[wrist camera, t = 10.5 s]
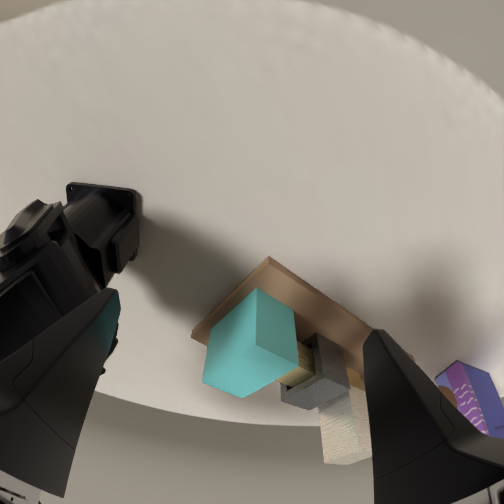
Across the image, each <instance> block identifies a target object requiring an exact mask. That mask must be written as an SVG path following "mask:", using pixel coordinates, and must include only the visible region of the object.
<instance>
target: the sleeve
mask: <svg viewBox="0 0 504 504" xmlns="http://www.w3.org/2000/svg"><path fill="white" fill-rule="evenodd" d="M301 344H303V345H305V346H307V347H309V348H311V349H313V355H314V362H315V369H316V375H314V376H313V377H311V378H309V379H308V380H306V381H304V382H302V383H301V384H299V385H297V386H295V387H290V386H288V385H285V384H283V383H281V401H282V402H285V403H288V404H291V405H294V406H297V407H300V408H304V409H307V410H311V409H313V408H315V407H317V406H319V405H321V404H323V403H325V402H327V401H329V400H331V399H333V398H335V397H337V396H339V395H340V394H342V393H344V392H346V391H348V390H350V389H351V388H350V383H349V379H348V374H347V369H346V365H345V360H344V356H343V351H342V347H341V346H340V345H338V344H336V343H335V342H333V341H331V340H329V339H328V338H326V337H324V336H322V335H321V334H319V333H317V332H316V333H314V334H313V335H312V336H310V337H309V338H307V339H306V340H305V341H303V342H302V343H301Z"/></svg>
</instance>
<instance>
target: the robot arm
mask: <svg viewBox="0 0 504 504" xmlns="http://www.w3.org/2000/svg"><path fill="white" fill-rule="evenodd" d="M71 187H72V188H73V190H72V189H71ZM66 194H67V204H66V205H64V206H62V203H61V201H59V202H57V203H54V204H49V205H47V204H45V203H43V202H41V201H40V200H38V199H37V200H35V201H33V202H32V203H30V204H29V205H28V206H26V207H25V208H24V209H23V210H22V211H20V212H19V213H18V214H17V215H16V216H15V217H14V219H13V220H12V222H11V223H10V225H9V226H8V227H7V229H6V230H5V231H4V232H3V233H2V234H1V235H0V504H41V503H40V501H39V497H40V493H41V490H43V491H46V492H48V493H51V494H53V495H56V496H59V497H61V498H64V495H65V490H66V486H67V481H68V477H69V473H70V469H71V465H72V461H73V457H74V454H75V449H76V446H77V443H78V439H79V436H80V433H81V429H82V426H83V423H84V420H85V417H86V414H87V410H88V408H89V405H90V402H91V399H92V396H93V393H94V390H95V387H96V385H97V382H98V379H99V376H100V375H102V374H104V373H105V371H106V370H105V368H104V367H103V366H104V363H105V361H106V360H107V359H108V358H109V356H110V355H111V354H112V353H113V351H114V349H115V347H116V345H117V343H118V339H117V338H116V336H117V330H118V325H119V324H118V318H119V315H120V310H121V307H120V300H119V294H118V291H117V290H116V289H112V288H106V287H107V286H108V284H109V282H110V281H111V279H112V277H113V276H114V274H115V273H117V274H120V273H121V272H122V271H123V269H124V267H125V266H126V264H127V262H128V261H133V260H134V259H135V258H136V256H137V246H138V244H139V229H138V217H137V215H136V195H135V192H134V191H133V190H132V189H129V188H121V187H113V186H104V185H96V184H86V183H77V182H71V183H69V184H68V185H67V186H66ZM127 194H130V196H131V198H129V197H128V196H127ZM363 367H364V385H365V393H366V401H367V409H368V417H369V427H370V437H371V448H372V461H373V476H374V504H504V438H498V437H492V436H488V435H486V434H484V433H482V432H481V431H479V430H478V429H477V428H476V427H475V426H474V425H473V424H472V423H471V422H470V421H469V420H468V419H467V418H466V417H465V416H464V415H463V414H462V413H461V412H460V411H459V410H458V409H457V408H456V407H455V406H454V405H453V404H452V403H451V402H450V401H449V400H448V398H447V397H446V396H445V395H444V394H443V393H442V392H440V390H439V388H438V387H437V386H436V385H435V384H434V383H433V382H432V381H431V380H430V378H429V377H428V376H427V375H426V374H425V373H424V372H423V371H422V370H421V369H420V367H419V366H418V365H417V364H416V363H415V362H414V361H413V360H412V359H411V358H410V357H409V356H408V354H407V353H406V352H405V351H404V350H403V349H402V348H401V347H400V346H399V345H398V344H397V343H396V342H395V341H394V340H393V339H392V337H391V336H390V335H389V334H388V333H387V332H386V331H385V330H383V329H373V330H372V331H371V333H370V334H369V336H368V337H367V339H366V340H365V342H364V344H363Z"/></svg>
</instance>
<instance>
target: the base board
mask: <svg viewBox="0 0 504 504" xmlns="http://www.w3.org/2000/svg"><path fill="white" fill-rule="evenodd" d="M256 287H257V288H259V289H260V290H262V291H263V292H265V293H267V294H268V295H270V296H271V297H273V298H275V299H276V300H278V301H279V302H281V303H283V304H284V305H286V306H288V307H289V308H291V309H292V310H293V313H294V322H295V331H296V340H297V342H299V343H302V342H303V341H305V340H306V339H307V338H309V337H310V336H312V335H313V334H314V333H316V332H317V333H319V334H321V335H322V336H324V337H326V338H328V339H329V340H331V341H333V342H335V343H336V344H338V345H340V346H341V347H342V351H343V356H344V360H345V365H346V367H348V368H350V369H352V370H354V371H356V372H359V374H360V378H361V382H362V386H363V391H365V385H364V367H363V344H364V342H365V340H366V339H367V337H368V336H369V334H370V333H371V331H372V330H373V329H372V328H371V327H369V326H368V325H366V324H365V323H364V322H362V321H361V320H359V319H358V318H357V317H355V316H354V315H352V314H351V313H349V312H348V311H347V310H345V309H344V308H342V307H341V306H339V305H338V304H337V303H335V302H334V301H332V300H331V299H329V298H328V297H327V296H325V295H324V294H322V293H321V292H319V291H318V290H317V289H315V288H314V287H312V286H311V285H309V284H308V283H306V282H305V281H304V280H302V279H301V278H299V277H298V276H296V275H295V274H294V273H292V272H291V271H289V270H288V269H286V268H285V267H283V266H282V265H281V264H279V263H278V262H276V261H275V260H273V259H272V258H270V257H269V256H268V257H267V258H266V259H265V260H264V261H263V262H262V263H261V264H260V265H259V266H258V267H257V268H256V269H255V270H254V271H253V272H252V273H251V274H250V275H249V276H248V277H247V278H246V279H245V280H244V281H243V282H242V283H241V284H240V285H239V286H238V287H237V288H236V289H235V290H234V291H233V292H232V293H231V294H230V295H229V296H227V297H226V298H225V299H224V300H223V301H222V302H221V303H220V304H219V305H218V306H217V307H216V308H215V309H214V310H213V311H212V312H211V313H210V314H209V315H208V316H207V317H206V318H205V319H204V320H203V321H202V322H201V323H200V324H199V325H197V326H196V327H195V328H194V329H193V330H192V335H191V338H193V339H195V340H196V341H198V342H200V343H202V344H204V345H206V346H208V342H209V336H210V330H211V329H212V328H213V327H214V326H215V325H216V324H217V323H218V322H219V321H220V320H222V319H223V318H224V317H225V316H226V315H227V314H228V313H229V312H230V311H231V310H233V309H234V308H235V307H236V306H237V305H238V304H239V303H240V302H241V301H242V300H243V299H245V298H246V297H247V296H248V295H249V294H250V293H251V292H252V291H253V290H254V289H255V288H256ZM407 354H408V353H407ZM408 356H409V357H410V358H411V359H412V360H413V361H414V359H413V357H412V356H410V355H409V354H408ZM414 362H415V361H414Z"/></svg>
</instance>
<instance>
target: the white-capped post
mask: <svg viewBox="0 0 504 504" xmlns="http://www.w3.org/2000/svg"><path fill="white" fill-rule="evenodd" d="M297 349H298V359H299V366H298V367H296V368H295V369H293V370H291V371H290V372H288V373H287V374H285V375H283V376H282V377H280V378H278V379H276V380H275V381H278V382H280V383H283V384H285V385H288V386H290V387H295V386H297V385H299V384H301V383H302V382H304V381H306V380H308V379H309V378H311V377H313V376H314V375H316V369H315V362H314V355H313V349H311V348H309V347H307V346H305V345H303V344H301V343H299V342H297ZM346 369H347V374H348V379H349V383H350V388H351V389H350V390H348V391H346V392H344V393H342V394H340V395H339V396H337V397H335V398H333V399H331V400H329V401H327V402H325V403H323V404H321V405H319V406H318V408H319V416H320V425H321V435H322V444H323V455H324V463H331V464H344V465H349V464H352V463H354V462H357V461H360V460H363V459H365V458H368V457H371V456H372V448H371V437H370V427H369V417H368V409H367V401H366V393H365V391H363V386H362V382H361V378H360V374H359V372H356V371H354V370H352V369H350V368H348V367H346Z"/></svg>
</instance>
